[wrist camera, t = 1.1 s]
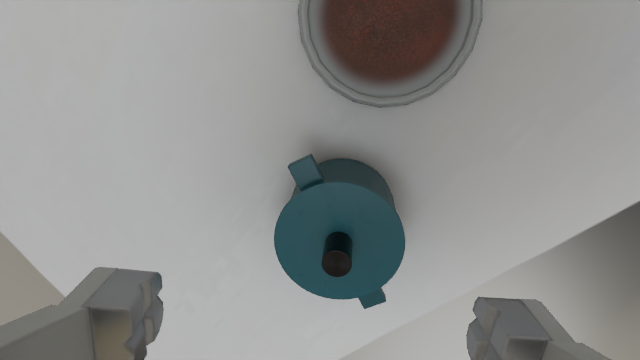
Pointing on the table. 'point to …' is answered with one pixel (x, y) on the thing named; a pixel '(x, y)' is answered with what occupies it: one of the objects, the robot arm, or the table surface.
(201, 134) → the table surface
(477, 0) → the frying pan
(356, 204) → the lid
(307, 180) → the pot
